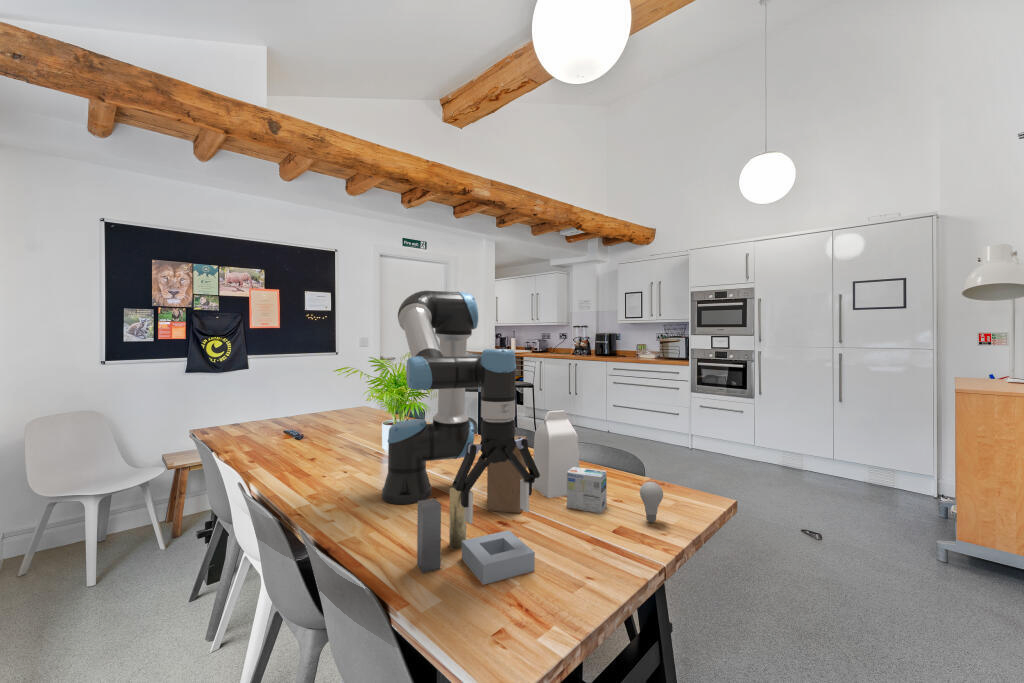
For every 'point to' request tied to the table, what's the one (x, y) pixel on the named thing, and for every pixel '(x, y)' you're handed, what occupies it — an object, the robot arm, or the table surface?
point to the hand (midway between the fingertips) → (497, 515)
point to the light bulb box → (586, 489)
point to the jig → (497, 556)
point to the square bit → (429, 535)
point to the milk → (554, 454)
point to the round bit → (456, 520)
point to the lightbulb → (651, 499)
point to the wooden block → (504, 484)
